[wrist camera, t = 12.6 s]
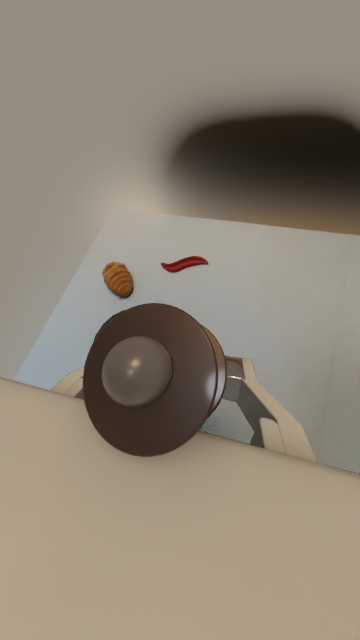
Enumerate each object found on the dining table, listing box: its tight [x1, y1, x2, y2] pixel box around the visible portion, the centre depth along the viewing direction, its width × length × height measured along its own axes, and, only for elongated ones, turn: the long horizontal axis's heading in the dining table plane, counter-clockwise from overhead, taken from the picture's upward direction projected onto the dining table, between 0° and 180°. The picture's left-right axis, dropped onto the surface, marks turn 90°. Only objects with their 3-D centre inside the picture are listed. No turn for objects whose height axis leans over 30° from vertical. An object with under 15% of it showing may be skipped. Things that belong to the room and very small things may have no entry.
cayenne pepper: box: [161, 256, 208, 272], centre depth 35 cm, size 12×5×2 cm, turn 74°
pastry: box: [103, 262, 132, 297], centre depth 36 cm, size 9×7×4 cm
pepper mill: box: [83, 303, 227, 457], centre depth 10 cm, size 5×5×14 cm
